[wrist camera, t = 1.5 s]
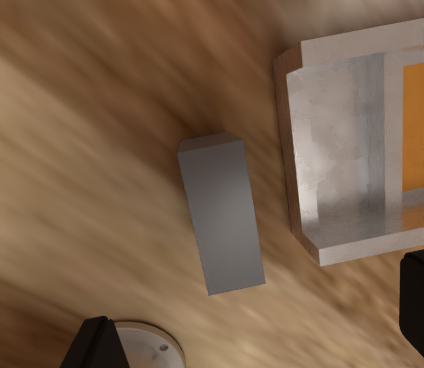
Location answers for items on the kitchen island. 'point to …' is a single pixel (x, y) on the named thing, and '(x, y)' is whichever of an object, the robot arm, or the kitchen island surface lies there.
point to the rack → (354, 140)
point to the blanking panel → (222, 211)
